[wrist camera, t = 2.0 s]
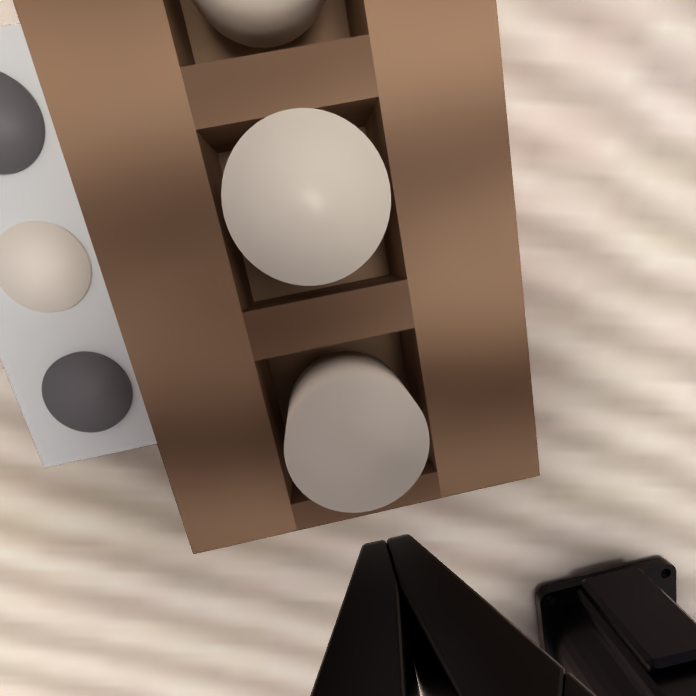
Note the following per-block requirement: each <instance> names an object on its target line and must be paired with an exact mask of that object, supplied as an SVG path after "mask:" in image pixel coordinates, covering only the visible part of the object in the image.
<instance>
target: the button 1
mask: <svg viewBox="0 0 696 696" xmlns="http://www.w3.org/2000/svg"><path fill="white" fill-rule="evenodd" d="M192 1H193V2H194V4H195V6H196V8H197V9H198V10H199V12H200V13H201V15H202V16H203V17H204V18H205V19H206V21H207V22H208V23H209V24H210V25H211V26H212V27H213V28H215V29H216V30H217V31H218V32H219V33H221V34H222V35H224V36H225V37H227V38H229V39H231V40H233V41H235V42H237V43H240V44H243V45H245V46H250V47H256V48H269V47H276V46H280V45H284V44H286V43H288V42H291V41H293V40H294V39H296V38H298V37H299V36H301V35H302V34H303V33H304V32H305V31H307V30H308V29H309V27H310V26H311V25H312V24H313V23H314V22H315V20H316V19H317V17H318V16H319V14H320V12H321V10H322V8H323V6H324V4H325V1H326V0H192Z"/></svg>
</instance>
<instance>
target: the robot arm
mask: <svg viewBox="0 0 696 696" xmlns="http://www.w3.org/2000/svg"><path fill="white" fill-rule="evenodd" d="M536 607H537V617H538V626H539V636H540V646H541V648H540V647H539V646H538V645H537V644H536V643H535V642H533V641H532V640H531V639H530V638H529V637H528V636H526V635H525V634H524V633H523V632H522V631H521V630H520V629H518V628H517V627H516V626H515V625H514V624H513V623H511V622H510V621H509V620H508V619H507V618H506V617H504V616H503V615H502V614H501V613H500V612H499V611H497V610H496V609H495V608H494V607H493V606H492V605H491V604H489V603H488V602H487V601H486V600H485V599H484V598H482V597H481V596H480V595H479V594H478V593H477V592H475V591H474V590H473V589H472V588H471V587H470V586H468V585H467V584H466V583H465V582H464V581H463V580H461V579H460V578H459V577H458V576H457V575H456V574H455V573H453V572H452V571H451V570H450V569H449V568H448V567H446V566H445V565H444V564H443V563H442V562H441V561H439V560H438V559H437V558H436V557H435V556H434V555H432V554H431V553H430V552H429V551H428V550H427V549H426V548H424V547H423V546H422V545H421V544H420V543H419V542H417V541H416V540H415V539H414V538H413V537H412V536H410V535H408V534H407V535H401V536H397V537H393V538H389V539H388V540H387V543H386V542H385V541H384V540H380V541H375V542H371V543H367V544H364V545H363V546H362V548H361V551H360V554H359V557H358V560H357V562H356V565H355V568H354V571H353V574H352V577H351V580H350V583H349V586H348V588H347V591H346V594H345V597H344V600H343V603H342V606H341V609H340V612H339V614H338V617H337V620H336V623H335V626H334V629H333V632H332V635H331V637H330V640H329V643H328V646H327V649H326V652H325V655H324V658H323V661H322V663H321V666H320V669H319V672H318V675H317V678H316V681H315V684H314V687H313V689H312V692H311V695H310V696H420V692H419V686H418V682H419V685H420V689H421V692H422V695H423V696H696V622H695V621H694V620H693V619H692V618H691V617H690V616H689V615H688V614H687V613H686V612H685V611H684V610H683V609H682V608H681V607H680V606H679V605H677V604H676V569H675V567H674V566H673V565H672V564H671V563H670V562H669V561H667V560H666V559H664V558H657V559H653V560H649V561H645V562H641V563H637V564H632V565H628V566H624V567H620V568H616V569H612V570H607V571H603V572H599V573H595V574H591V575H587V576H582V577H578V578H574V579H570V580H566V581H562V582H557V583H553V584H549V585H545V586H543V587H541V588H539V589H538V591H537V592H536ZM416 674H417V676H416ZM417 678H418V681H417Z"/></svg>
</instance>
